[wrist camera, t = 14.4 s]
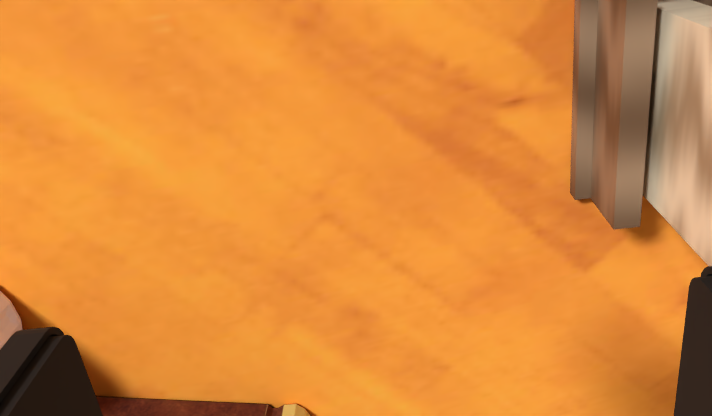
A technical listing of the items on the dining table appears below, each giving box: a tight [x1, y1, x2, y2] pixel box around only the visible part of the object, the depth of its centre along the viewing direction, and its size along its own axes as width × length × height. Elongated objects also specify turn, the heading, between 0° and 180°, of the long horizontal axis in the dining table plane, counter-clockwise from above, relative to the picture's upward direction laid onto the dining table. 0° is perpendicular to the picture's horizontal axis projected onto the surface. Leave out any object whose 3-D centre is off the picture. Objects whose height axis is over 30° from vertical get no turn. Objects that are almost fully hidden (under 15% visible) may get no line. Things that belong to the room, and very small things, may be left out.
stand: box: [570, 0, 712, 229], centre depth 34 cm, size 12×8×5 cm, turn 7°
